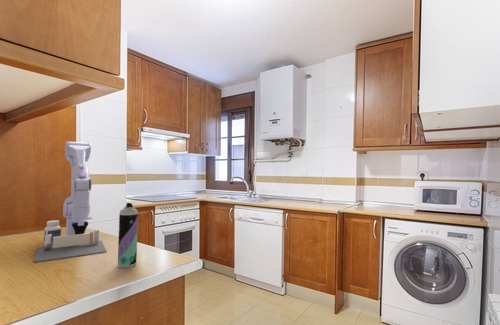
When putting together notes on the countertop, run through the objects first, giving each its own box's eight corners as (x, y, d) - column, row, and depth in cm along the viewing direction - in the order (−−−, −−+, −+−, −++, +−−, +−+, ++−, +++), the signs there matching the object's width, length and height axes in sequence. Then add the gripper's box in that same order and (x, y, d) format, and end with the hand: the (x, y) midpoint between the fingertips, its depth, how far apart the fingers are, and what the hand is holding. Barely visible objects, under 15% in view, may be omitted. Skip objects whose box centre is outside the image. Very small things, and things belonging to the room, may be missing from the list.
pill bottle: (63, 244, 106) (64, 220, 107) (52, 247, 101) (53, 222, 102) (51, 243, 107) (52, 219, 107) (39, 247, 102) (41, 222, 102)
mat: (38, 248, 99) (38, 247, 99) (101, 241, 111) (101, 240, 111) (33, 262, 85) (33, 261, 85) (106, 252, 97) (106, 251, 97)
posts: (44, 250, 97) (45, 234, 97) (98, 244, 107) (98, 229, 107) (44, 252, 96) (44, 235, 96) (98, 245, 106) (99, 230, 106)
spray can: (113, 267, 82) (116, 203, 83) (124, 261, 87) (126, 201, 88) (129, 268, 81) (132, 204, 82) (139, 262, 86) (141, 202, 87)
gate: (52, 248, 97) (53, 236, 97) (52, 247, 98) (53, 235, 99) (93, 243, 105) (93, 232, 105) (92, 242, 106) (93, 231, 106)
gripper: (93, 208, 103) (92, 243, 103) (90, 204, 115) (89, 235, 114) (72, 209, 99) (70, 245, 99) (71, 205, 111) (70, 237, 110)
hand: (79, 240), depth 106 cm, fingers closed
